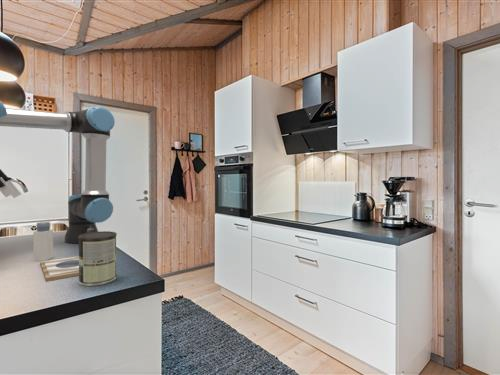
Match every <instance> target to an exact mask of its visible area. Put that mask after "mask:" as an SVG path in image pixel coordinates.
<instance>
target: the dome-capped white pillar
mask: <svg viewBox="0 0 500 375" xmlns="http://www.w3.org/2000/svg"><path fill="white" fill-rule="evenodd" d="M50 224H51V222H50V221H49V222H48V221H41V222H36V230H35V231H32V232H33V233H32V234H33V235H32V237H33V238H32V239H33V242H32V243H33V248H32V249H33V251H32V252H33V262H42V261H48V260H52V259H53V258H54V229H51V225H50Z"/></svg>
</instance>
